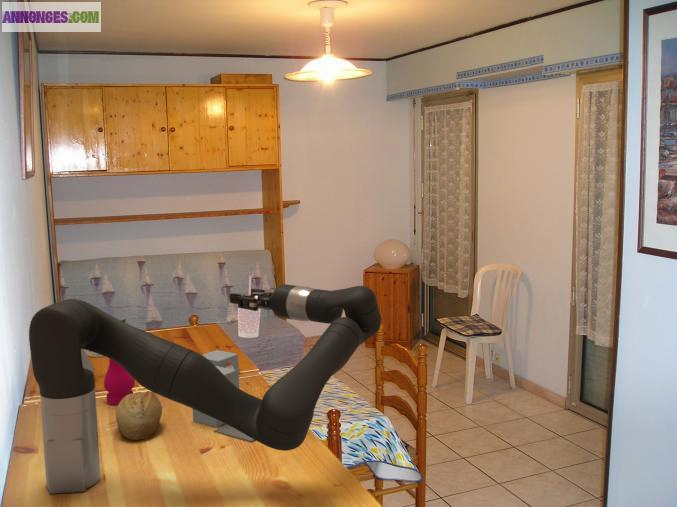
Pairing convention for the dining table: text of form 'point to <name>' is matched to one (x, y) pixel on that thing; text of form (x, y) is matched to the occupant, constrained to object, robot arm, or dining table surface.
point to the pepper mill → (117, 383)
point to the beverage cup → (248, 320)
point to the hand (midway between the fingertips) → (240, 295)
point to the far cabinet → (224, 360)
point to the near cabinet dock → (210, 421)
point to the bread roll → (138, 415)
